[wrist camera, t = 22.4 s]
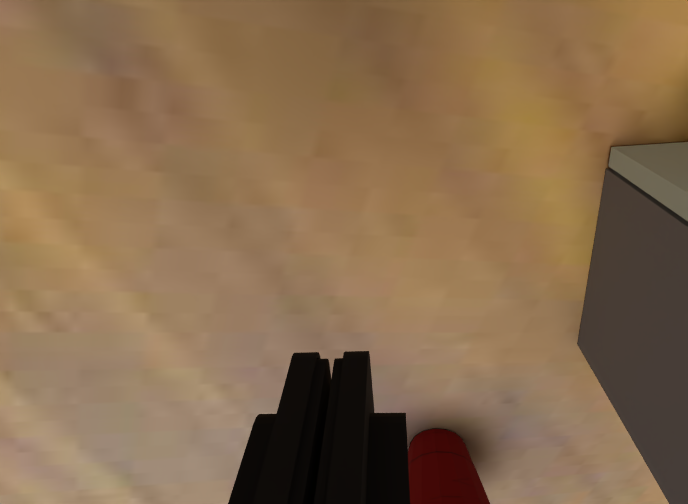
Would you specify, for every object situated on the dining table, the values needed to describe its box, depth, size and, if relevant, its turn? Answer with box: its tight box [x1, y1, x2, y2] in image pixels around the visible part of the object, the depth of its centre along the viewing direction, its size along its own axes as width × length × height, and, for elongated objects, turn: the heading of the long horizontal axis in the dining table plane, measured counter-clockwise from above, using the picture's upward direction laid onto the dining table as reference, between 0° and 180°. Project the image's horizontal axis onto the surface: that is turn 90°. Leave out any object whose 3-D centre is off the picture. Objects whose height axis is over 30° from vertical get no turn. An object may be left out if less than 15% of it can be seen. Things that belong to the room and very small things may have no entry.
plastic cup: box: [408, 429, 490, 504], centre depth 44 cm, size 11×11×12 cm
